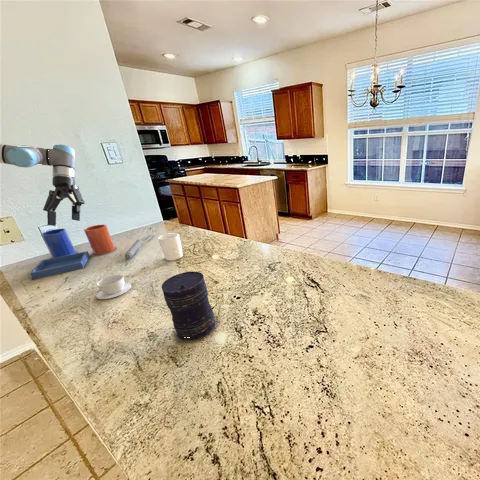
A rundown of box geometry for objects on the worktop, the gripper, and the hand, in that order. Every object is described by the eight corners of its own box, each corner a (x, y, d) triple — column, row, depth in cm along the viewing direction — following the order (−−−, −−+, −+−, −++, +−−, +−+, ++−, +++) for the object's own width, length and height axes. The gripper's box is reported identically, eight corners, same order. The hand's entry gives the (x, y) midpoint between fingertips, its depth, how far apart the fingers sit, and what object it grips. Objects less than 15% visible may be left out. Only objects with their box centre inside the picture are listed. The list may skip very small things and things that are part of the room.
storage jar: (177, 322, 74) (159, 266, 67) (214, 312, 78) (200, 258, 71) (175, 346, 66) (154, 285, 59) (217, 333, 69) (201, 274, 62)
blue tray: (32, 279, 102) (29, 273, 101) (44, 265, 113) (41, 260, 112) (83, 268, 109) (80, 262, 108) (89, 256, 120) (87, 251, 119)
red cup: (89, 255, 121) (79, 230, 116) (103, 247, 129) (93, 224, 124) (106, 254, 121) (96, 230, 116) (119, 247, 128) (110, 224, 123)
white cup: (160, 260, 112) (153, 238, 108) (174, 252, 119) (168, 232, 115) (174, 262, 110) (168, 240, 106) (188, 254, 117) (182, 233, 113)
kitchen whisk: (118, 262, 112) (113, 249, 110) (146, 235, 143) (142, 224, 140) (134, 260, 114) (129, 247, 111) (158, 233, 144) (155, 222, 142)
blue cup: (48, 260, 118) (35, 235, 114) (64, 252, 126) (53, 228, 121) (65, 259, 118) (53, 234, 113) (80, 251, 125) (70, 228, 121)
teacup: (138, 286, 94) (134, 274, 92) (109, 302, 85) (104, 290, 83) (119, 282, 97) (114, 271, 95) (89, 297, 88) (84, 285, 87)
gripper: (94, 175, 123) (94, 219, 120) (52, 186, 128) (51, 228, 125) (76, 169, 116) (76, 216, 113) (32, 181, 121) (31, 226, 117)
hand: (63, 222), depth 119 cm, fingers open, 13 cm apart
